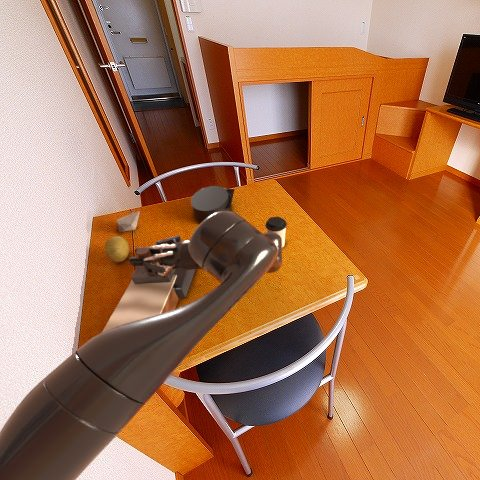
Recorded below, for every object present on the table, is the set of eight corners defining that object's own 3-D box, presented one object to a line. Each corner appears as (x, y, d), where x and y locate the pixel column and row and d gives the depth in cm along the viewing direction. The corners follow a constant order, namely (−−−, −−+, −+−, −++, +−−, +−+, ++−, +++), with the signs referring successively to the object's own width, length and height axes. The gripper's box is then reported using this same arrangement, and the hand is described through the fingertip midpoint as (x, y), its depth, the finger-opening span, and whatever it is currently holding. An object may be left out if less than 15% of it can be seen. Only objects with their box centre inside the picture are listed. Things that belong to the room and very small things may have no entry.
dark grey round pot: (190, 227, 102) (184, 211, 96) (201, 198, 114) (196, 183, 109) (230, 227, 103) (227, 211, 98) (236, 198, 116) (234, 183, 111)
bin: (185, 297, 76) (182, 289, 74) (131, 299, 75) (126, 292, 73) (200, 254, 89) (198, 247, 87) (155, 256, 88) (151, 248, 86)
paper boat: (104, 231, 95) (114, 211, 100) (123, 240, 99) (132, 220, 105) (124, 220, 90) (133, 199, 95) (143, 229, 94) (151, 209, 100)
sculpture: (121, 250, 90) (110, 231, 85) (134, 249, 90) (124, 230, 85) (110, 268, 84) (97, 248, 79) (124, 267, 84) (112, 247, 79)
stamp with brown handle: (170, 282, 73) (157, 256, 67) (134, 283, 72) (118, 258, 66) (176, 268, 76) (164, 243, 70) (142, 270, 76) (127, 244, 70)
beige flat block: (156, 358, 63) (146, 345, 59) (105, 361, 62) (92, 348, 58) (182, 288, 79) (176, 274, 75) (142, 290, 78) (134, 276, 74)
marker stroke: (177, 284, 78) (177, 285, 79) (163, 281, 77) (163, 281, 78) (175, 288, 78) (175, 288, 78) (162, 284, 77) (162, 285, 77)
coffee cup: (291, 241, 96) (290, 217, 90) (282, 253, 91) (280, 229, 85) (274, 235, 98) (271, 212, 91) (263, 247, 93) (260, 224, 86)
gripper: (206, 226, 73) (138, 227, 72) (192, 263, 63) (112, 266, 61) (213, 247, 78) (149, 248, 77) (200, 285, 68) (126, 288, 66)
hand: (133, 256), depth 69 cm, fingers closed on stamp with brown handle, 3 cm apart
